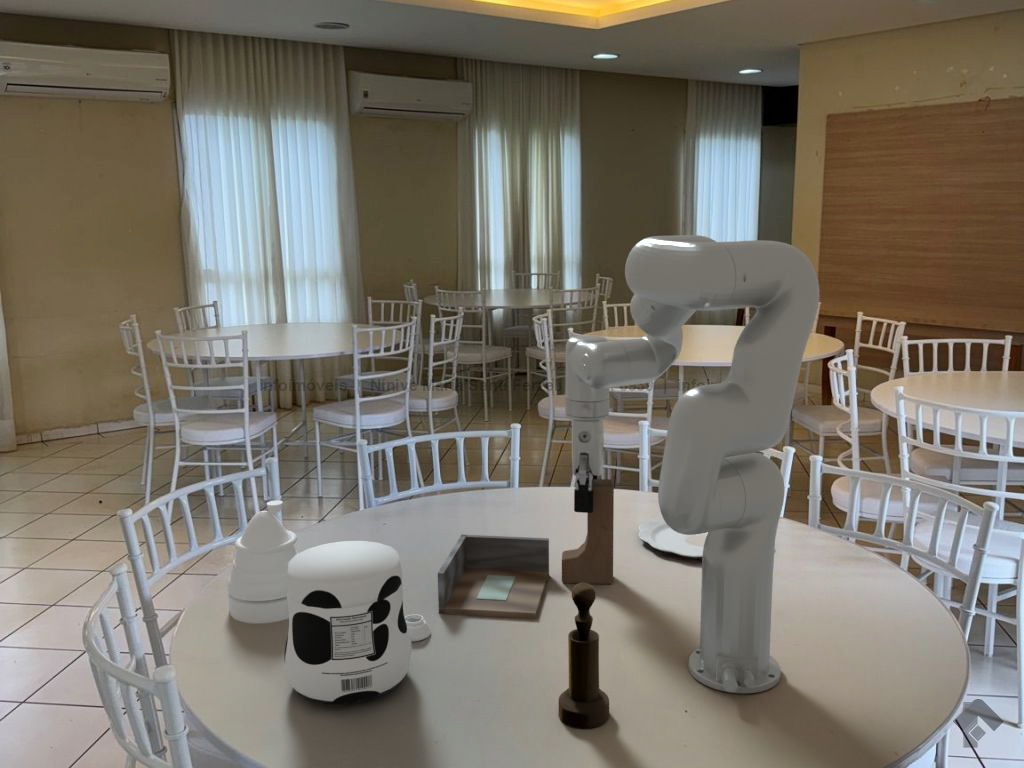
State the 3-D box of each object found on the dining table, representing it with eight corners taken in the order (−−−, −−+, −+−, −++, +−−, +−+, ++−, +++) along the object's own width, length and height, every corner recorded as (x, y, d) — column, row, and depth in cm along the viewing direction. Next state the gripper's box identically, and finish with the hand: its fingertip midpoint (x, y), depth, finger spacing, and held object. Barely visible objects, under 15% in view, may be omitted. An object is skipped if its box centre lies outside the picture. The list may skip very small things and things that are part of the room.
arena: (535, 618, 142) (535, 577, 141) (438, 613, 145) (437, 573, 143) (549, 575, 159) (548, 538, 158) (462, 570, 162) (461, 534, 161)
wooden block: (561, 583, 155) (561, 485, 152) (562, 573, 160) (562, 478, 157) (613, 585, 155) (613, 486, 151) (612, 574, 159) (613, 478, 156)
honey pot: (309, 587, 156) (303, 489, 152) (308, 618, 143) (301, 512, 140) (233, 594, 153) (225, 495, 150) (225, 627, 141) (217, 519, 137)
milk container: (350, 642, 135) (344, 530, 132) (437, 673, 125) (433, 553, 122) (260, 691, 121) (250, 567, 118) (349, 730, 111) (342, 597, 108)
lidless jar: (433, 640, 136) (426, 626, 140) (432, 622, 135) (425, 609, 140) (401, 645, 134) (395, 631, 139) (400, 627, 134) (394, 614, 138)
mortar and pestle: (578, 696, 119) (578, 570, 115) (619, 712, 115) (620, 582, 111) (548, 718, 114) (547, 586, 110) (590, 735, 110) (590, 599, 106)
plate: (794, 554, 168) (795, 544, 168) (681, 574, 159) (682, 564, 159) (718, 515, 191) (718, 506, 191) (615, 531, 182) (616, 522, 182)
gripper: (606, 420, 143) (604, 520, 146) (611, 397, 160) (610, 488, 163) (559, 418, 144) (559, 518, 147) (570, 396, 161) (569, 486, 164)
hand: (585, 502), depth 155 cm, fingers open, 9 cm apart
